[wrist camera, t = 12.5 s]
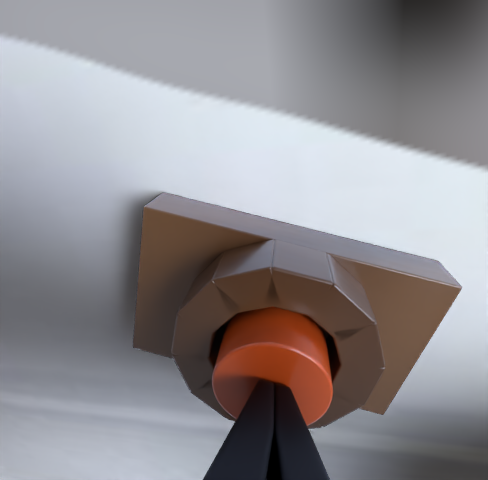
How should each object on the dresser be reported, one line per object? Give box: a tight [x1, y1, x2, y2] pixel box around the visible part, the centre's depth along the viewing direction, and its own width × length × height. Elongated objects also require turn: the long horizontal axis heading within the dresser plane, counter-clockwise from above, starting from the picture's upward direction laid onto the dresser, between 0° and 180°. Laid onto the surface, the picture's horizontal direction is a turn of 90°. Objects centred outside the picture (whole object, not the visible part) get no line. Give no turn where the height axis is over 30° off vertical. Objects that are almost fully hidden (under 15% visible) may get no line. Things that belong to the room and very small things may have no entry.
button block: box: [133, 193, 462, 429], centre depth 11 cm, size 10×6×4 cm, turn 78°
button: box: [212, 307, 333, 426], centre depth 9 cm, size 3×3×2 cm
